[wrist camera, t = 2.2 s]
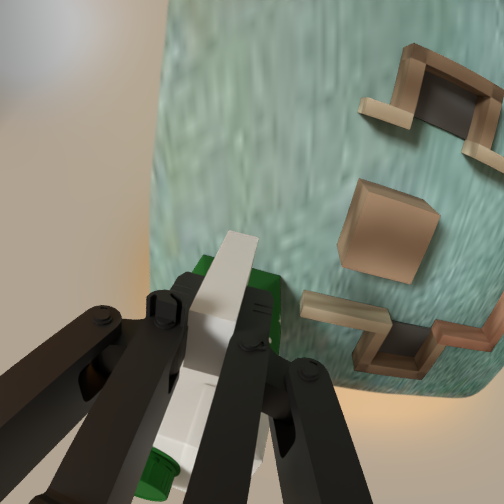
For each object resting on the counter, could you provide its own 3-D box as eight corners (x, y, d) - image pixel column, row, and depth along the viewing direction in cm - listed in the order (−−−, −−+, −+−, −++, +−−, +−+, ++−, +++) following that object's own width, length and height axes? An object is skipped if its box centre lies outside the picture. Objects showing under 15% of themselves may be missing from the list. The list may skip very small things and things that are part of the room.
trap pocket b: (371, 316, 30) (375, 332, 27) (439, 329, 29) (446, 345, 27) (351, 353, 32) (354, 370, 30) (416, 364, 32) (421, 379, 30)
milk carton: (195, 242, 29) (76, 436, 11) (294, 270, 28) (277, 498, 11) (183, 316, 33) (102, 491, 15) (268, 341, 33) (237, 531, 15)
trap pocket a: (403, 47, 19) (413, 42, 17) (489, 89, 19) (504, 90, 16) (389, 107, 21) (398, 108, 19) (475, 144, 21) (490, 149, 19)
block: (358, 177, 24) (368, 191, 21) (422, 199, 24) (440, 215, 21) (336, 244, 27) (341, 267, 24) (398, 260, 27) (410, 284, 23)
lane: (361, 97, 21) (368, 97, 19) (554, 191, 21) (569, 199, 18) (300, 300, 30) (299, 316, 28) (482, 337, 29) (490, 352, 27)
